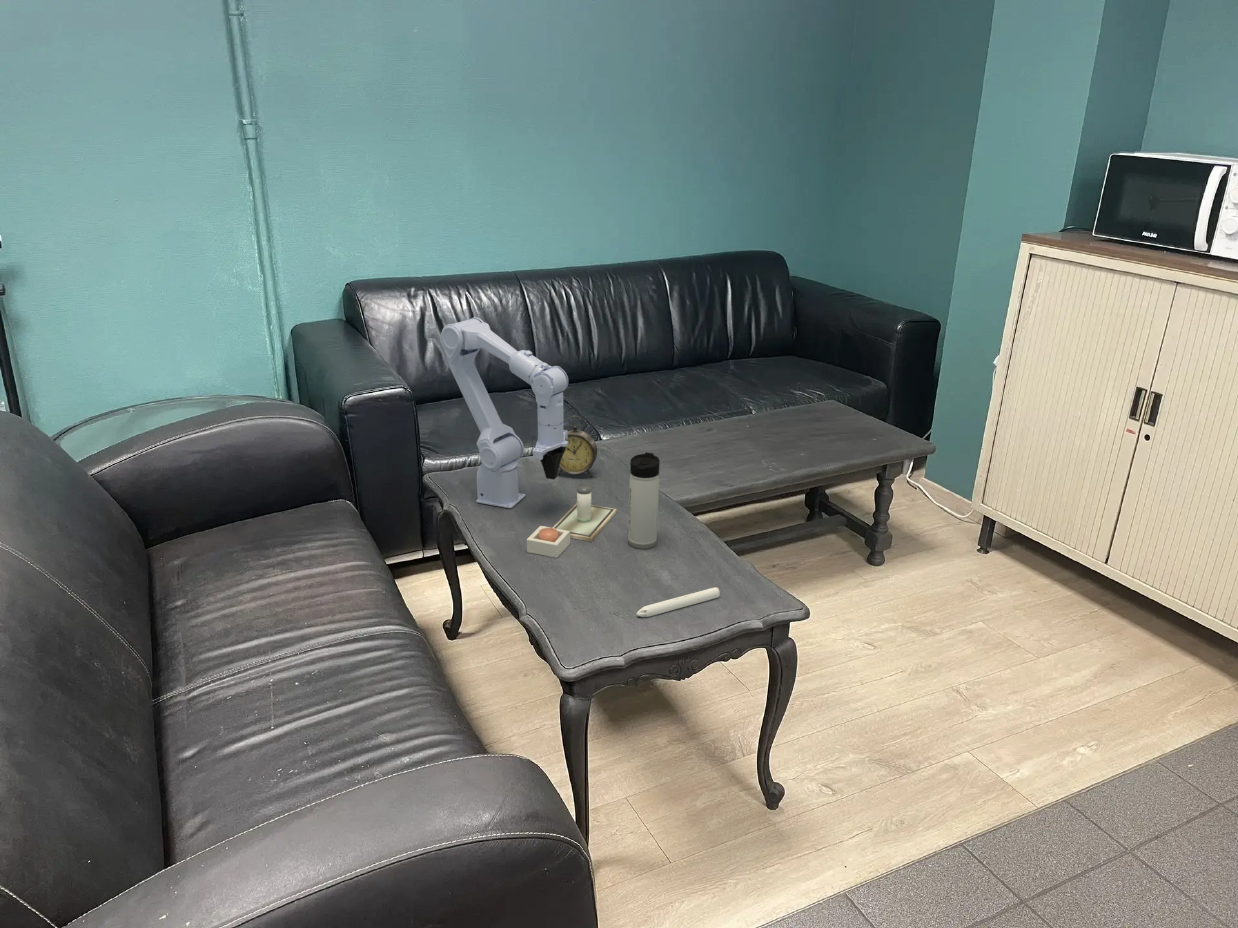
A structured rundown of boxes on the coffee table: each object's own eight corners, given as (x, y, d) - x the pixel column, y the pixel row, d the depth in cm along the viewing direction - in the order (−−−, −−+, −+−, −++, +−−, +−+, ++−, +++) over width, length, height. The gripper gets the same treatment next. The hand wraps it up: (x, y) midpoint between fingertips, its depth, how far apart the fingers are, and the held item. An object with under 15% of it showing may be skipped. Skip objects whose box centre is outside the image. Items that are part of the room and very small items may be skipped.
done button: (536, 546, 183) (536, 534, 182) (544, 538, 186) (543, 526, 185) (553, 550, 182) (553, 537, 180) (560, 542, 185) (560, 529, 184)
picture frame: (549, 533, 190) (549, 530, 190) (577, 505, 204) (577, 501, 204) (591, 541, 187) (591, 538, 187) (616, 512, 201) (616, 508, 201)
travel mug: (660, 538, 189) (664, 454, 182) (651, 551, 184) (655, 465, 176) (633, 533, 191) (636, 450, 184) (624, 546, 185) (626, 461, 178)
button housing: (526, 551, 182) (526, 539, 181) (540, 537, 188) (540, 525, 187) (557, 557, 180) (556, 545, 179) (570, 543, 186) (569, 531, 185)
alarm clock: (552, 477, 220) (551, 417, 213) (557, 469, 225) (556, 410, 218) (594, 480, 218) (594, 420, 212) (598, 472, 223) (599, 413, 217)
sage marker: (574, 521, 194) (574, 489, 191) (580, 515, 197) (580, 483, 194) (588, 523, 193) (588, 491, 190) (593, 517, 196) (593, 485, 193)
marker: (638, 621, 159) (639, 611, 158) (633, 616, 160) (633, 605, 160) (719, 599, 167) (720, 588, 166) (713, 594, 168) (714, 583, 167)
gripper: (553, 434, 183) (554, 492, 188) (579, 414, 195) (579, 469, 201) (523, 430, 185) (525, 487, 190) (551, 410, 198) (552, 464, 203)
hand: (551, 477), depth 196 cm, fingers closed
